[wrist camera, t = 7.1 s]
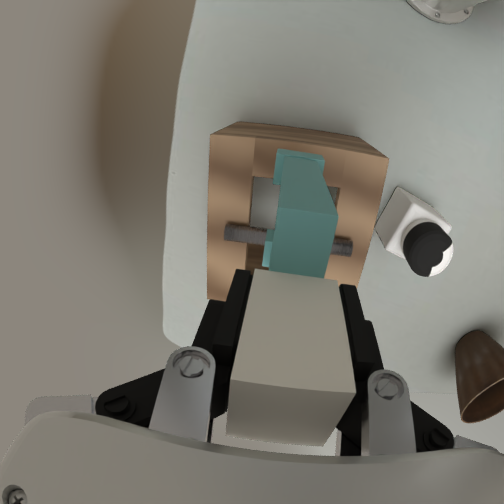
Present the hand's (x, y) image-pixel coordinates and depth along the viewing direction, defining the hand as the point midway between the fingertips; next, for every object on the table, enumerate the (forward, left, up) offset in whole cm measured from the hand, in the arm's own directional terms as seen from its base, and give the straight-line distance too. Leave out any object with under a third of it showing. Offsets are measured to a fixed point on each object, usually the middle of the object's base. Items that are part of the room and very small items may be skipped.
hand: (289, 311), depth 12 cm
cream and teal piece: (0, 0, -12) cm, 12 cm away
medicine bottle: (+6, +17, -32) cm, 37 cm away
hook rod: (+5, 0, -18) cm, 19 cm away
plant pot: (+30, +43, -32) cm, 62 cm away
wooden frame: (+5, 0, -32) cm, 32 cm away
